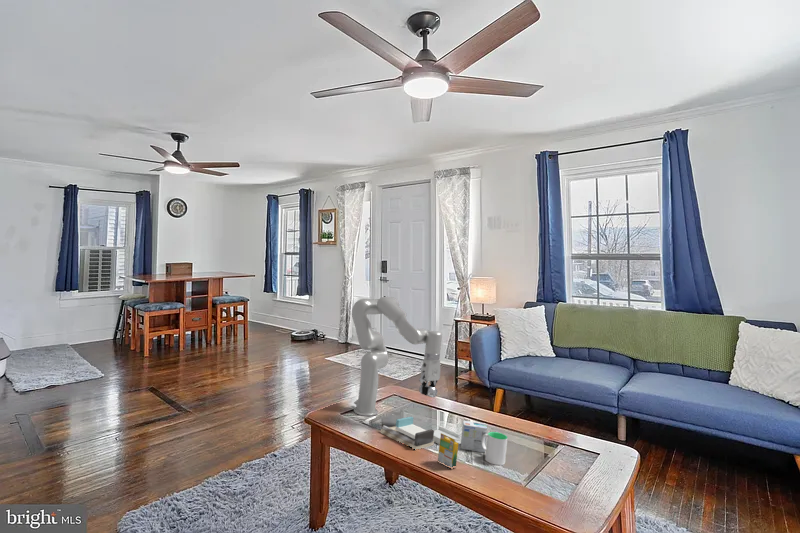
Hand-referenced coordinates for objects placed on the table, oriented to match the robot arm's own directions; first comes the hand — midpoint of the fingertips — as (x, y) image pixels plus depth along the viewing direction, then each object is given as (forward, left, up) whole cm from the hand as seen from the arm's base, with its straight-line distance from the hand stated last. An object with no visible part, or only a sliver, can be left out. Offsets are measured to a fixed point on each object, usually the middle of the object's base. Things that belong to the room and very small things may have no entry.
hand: (427, 393), depth 193 cm
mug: (+37, +2, -18) cm, 41 cm away
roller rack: (+11, 0, -17) cm, 20 cm away
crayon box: (+31, -21, -18) cm, 41 cm away
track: (+4, -16, -17) cm, 24 cm away
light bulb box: (+26, +4, -18) cm, 31 cm away
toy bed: (+7, -16, -16) cm, 23 cm away
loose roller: (0, 0, -1) cm, 1 cm away
